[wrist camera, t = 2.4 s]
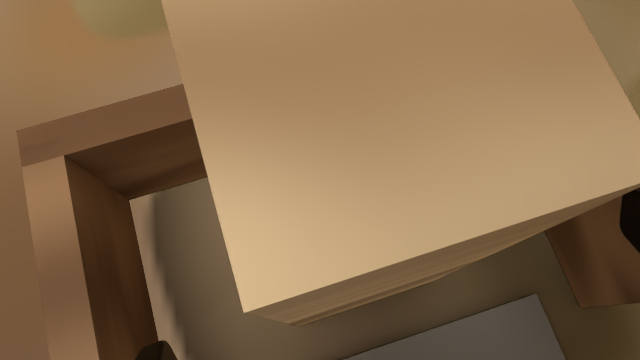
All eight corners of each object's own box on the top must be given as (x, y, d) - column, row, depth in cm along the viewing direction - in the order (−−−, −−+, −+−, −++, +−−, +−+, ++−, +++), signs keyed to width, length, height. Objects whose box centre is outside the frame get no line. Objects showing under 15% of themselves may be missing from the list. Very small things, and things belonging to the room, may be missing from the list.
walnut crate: (610, 297, 18) (717, 284, 13) (145, 459, 16) (72, 512, 11) (496, 62, 21) (548, -20, 16) (92, 181, 19) (16, 130, 14)
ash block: (428, 283, 18) (670, 172, 6) (298, 326, 17) (243, 313, 5) (382, 161, 19) (491, -145, 7) (261, 198, 19) (146, -56, 6)
